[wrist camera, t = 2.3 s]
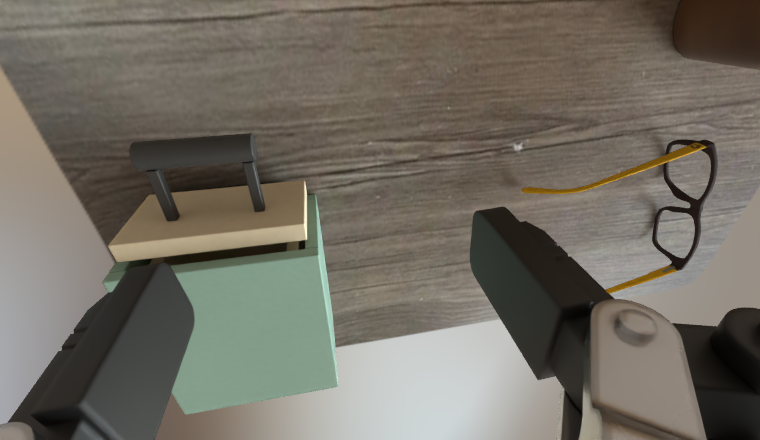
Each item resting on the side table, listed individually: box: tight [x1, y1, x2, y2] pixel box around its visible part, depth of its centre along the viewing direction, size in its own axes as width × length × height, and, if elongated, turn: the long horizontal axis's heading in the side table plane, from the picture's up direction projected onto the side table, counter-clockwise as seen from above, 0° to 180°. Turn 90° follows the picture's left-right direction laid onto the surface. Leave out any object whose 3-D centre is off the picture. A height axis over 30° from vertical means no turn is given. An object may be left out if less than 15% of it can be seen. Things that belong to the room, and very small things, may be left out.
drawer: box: [108, 134, 307, 266], centre depth 23 cm, size 17×10×6 cm, turn 1°
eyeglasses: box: [522, 140, 718, 294], centre depth 31 cm, size 14×14×4 cm
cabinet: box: [102, 194, 338, 414], centre depth 26 cm, size 14×12×8 cm
